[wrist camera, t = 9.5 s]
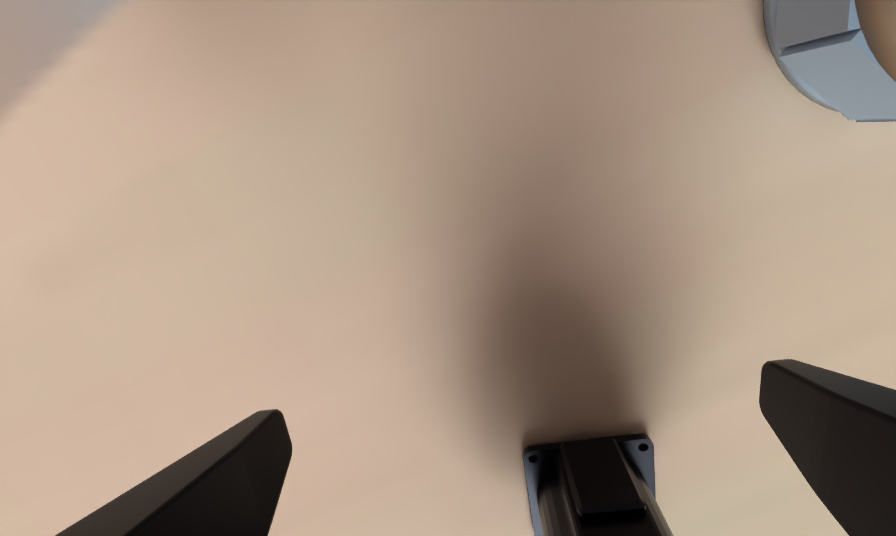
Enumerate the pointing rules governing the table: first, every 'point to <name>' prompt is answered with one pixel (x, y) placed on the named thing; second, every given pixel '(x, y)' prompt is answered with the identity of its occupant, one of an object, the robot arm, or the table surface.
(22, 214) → the table surface
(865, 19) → the lid
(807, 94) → the bowl
